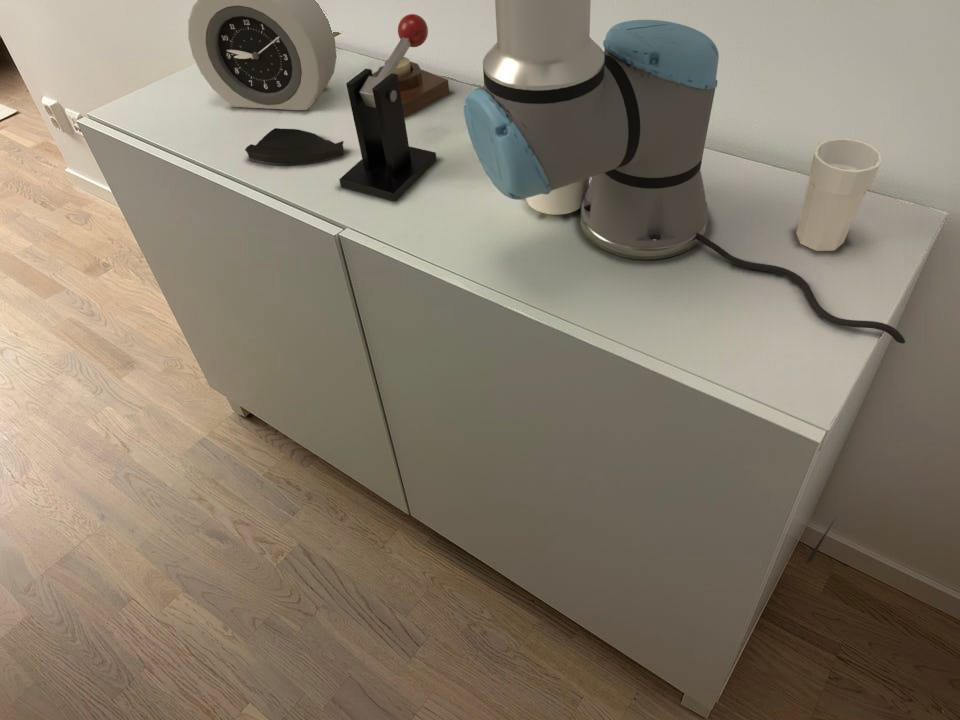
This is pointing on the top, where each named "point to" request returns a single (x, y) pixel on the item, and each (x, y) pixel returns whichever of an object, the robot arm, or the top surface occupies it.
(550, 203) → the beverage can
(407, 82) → the button block
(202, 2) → the alarm clock
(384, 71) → the lever
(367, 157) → the bracket
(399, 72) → the button
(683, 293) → the top surface
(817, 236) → the cup
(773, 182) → the top surface
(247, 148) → the curved wedge
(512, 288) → the top surface
